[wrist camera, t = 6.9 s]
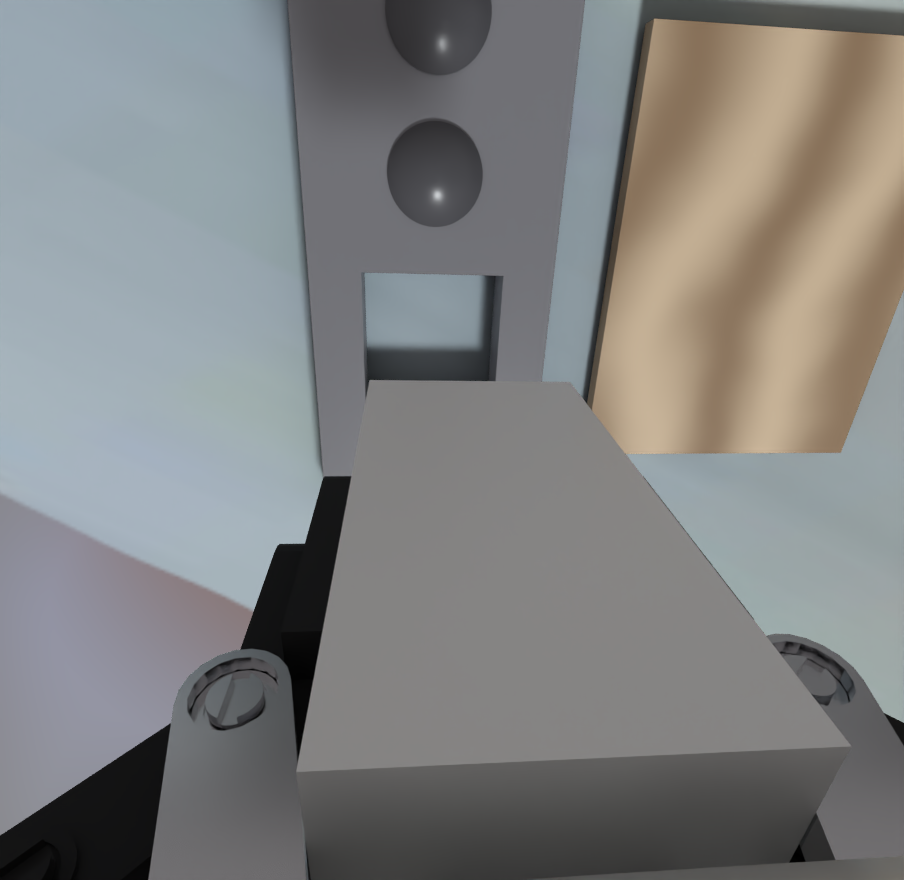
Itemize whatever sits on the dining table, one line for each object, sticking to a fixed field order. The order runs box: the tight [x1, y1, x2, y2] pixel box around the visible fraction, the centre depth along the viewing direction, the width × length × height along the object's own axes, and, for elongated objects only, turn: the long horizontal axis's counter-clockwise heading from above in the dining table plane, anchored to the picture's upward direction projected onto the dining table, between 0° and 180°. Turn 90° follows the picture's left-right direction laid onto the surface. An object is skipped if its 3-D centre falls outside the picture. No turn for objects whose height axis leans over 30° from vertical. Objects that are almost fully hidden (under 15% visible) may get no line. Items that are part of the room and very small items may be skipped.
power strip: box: [287, 0, 585, 478], centre depth 23 cm, size 10×24×3 cm, turn 178°
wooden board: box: [587, 19, 904, 454], centre depth 25 cm, size 14×18×1 cm
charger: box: [296, 380, 851, 880], centre depth 9 cm, size 5×5×10 cm
